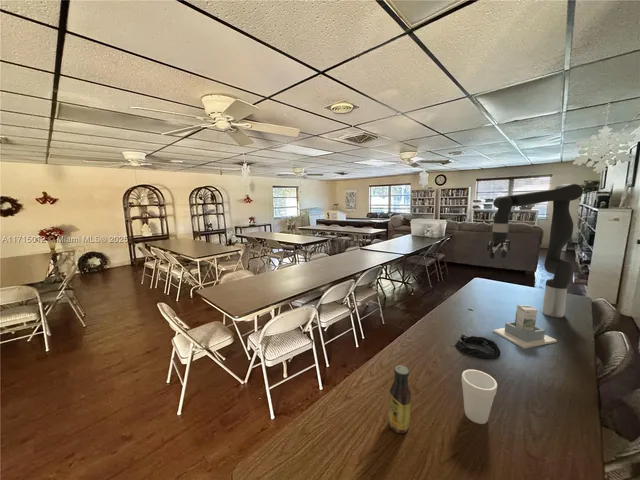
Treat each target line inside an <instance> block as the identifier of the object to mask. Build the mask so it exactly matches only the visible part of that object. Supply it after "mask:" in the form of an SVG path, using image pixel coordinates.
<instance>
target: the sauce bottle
mask: <svg viewBox="0 0 640 480" xmlns="http://www.w3.org/2000/svg"><path fill="white" fill-rule="evenodd" d="M393 372H394V379H393V383H392V384H391V387H390V388H389V396H388V397H389V399H388V425H389V428H391V429H392V430H393V431H394V432H395V433H398V434H404V433H406V432H407V431H409V428H410V420H411V406H412V405H411V403H412V398H411V397H412V391H411V390H412V389H411V387H410V385H409V384H408V383H409V381H408V380H409V375H410V371H409V369H408V367H406V366H405V365H401V364H400V365H396V366H395V367H394V371H393Z"/></svg>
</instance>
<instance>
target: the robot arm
mask: <svg viewBox="0 0 640 480" xmlns="http://www.w3.org/2000/svg"><path fill="white" fill-rule="evenodd" d="M583 193H584V189H583V187H582V186H581V185H580V184H577V183H564V184H563V183H562V184H558V185H557V186H556V187H555V188H554V189H547V190H538V191H537V190H536V191H528V192H527V191H526V192H523V193H517V194H513V195H510V194H509V195H502V196H498V197H496V198H495V199H494V200H493V201H492V202H493V203H492V204H493V206H494V208H496V209H497V211H496V213H495V214H494V215H493V225H492V231H491V232H492V233H491V239H492V241H491V240H490V241H488V242H487V247H486V251H487V252H489V259H492V260H494V259H495V252H496V251H497V250H498V249H500V250H501V258H503V259H505V258H506V257H507V252H508V251H510V250H511V240H508V236H509V217H510V214H511V211H512V208H513V207H524V206H530V205H535V204H536V205H537V204H541V203H549V202H552V215H551V217H552V218H551V224H550V231H549V241H548V247H547V250H546V251H547V252H546V255H545V260H544V264H543V265H544V271H546V272H547V273H549V274H553V278H550V279H547V280H546V281H545V286H544V287H545V288H544V294H543V295H544V296H543V302H542V303H543V304H542V311H541V312H542V314H544V315H545V316H548V317H552V318H559V319H560V318H564V316H565V314H566V304H567V298H566V297H567V292H568V291H567V290H568V286H569V284H570V283H571V280H572V279H571V278H572V274H573V265H572V263H571V262H570V261H569V260H565V259H562V258H561V254H562V251H563V249H564V248H565V246H566V245H567V244H568V243H569V242H570V241H571V239H572V238H573V232H574V221H573V218H572V216H571V212H570V205H571V204H570V202H571V201H576V200H578V199H580V198H581V197H582V196H583Z"/></svg>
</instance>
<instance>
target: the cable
mask: <svg viewBox="0 0 640 480" xmlns="http://www.w3.org/2000/svg"><path fill="white" fill-rule="evenodd" d="M467 343H469V344H474V345H478V346H485V347H489V348H490V349H492V351H493V352H486V351H483V350H481V349H479V348H471V347H469V346H468V345H467ZM455 345H456V347H457V348H458V350H462V352H464V353H468V354H469V355H471V356H473V357H475V358H479V359H481V358H482V359H497V358H498V359H499V357H500V356H501V354H502V352H501V350H500V348H499V347H498V344H497V343H496V342H495V341H494V340H492V339H488V338H486V337H484V336H483V337H482V336H473V335H471V336H466V335H465V334H461V336H460V338H459V339H458V340H457V341H456V343H455Z"/></svg>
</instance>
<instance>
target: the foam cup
mask: <svg viewBox="0 0 640 480" xmlns="http://www.w3.org/2000/svg"><path fill="white" fill-rule="evenodd" d="M461 383H462V385H461V386H462V394H463V395H462V396H463V407H464V414H465V416H466V418H467V419H468V420H470V421H472V422H474V423H476V424H480V425H485V424H487V422H488V420H489V417H490V414H491V410H492V406H493V402H494V400H495V396H496V395H497V390H498V383H497V381H496V379H495V378H493V377H492V376H491V375H490V374H488V373H485V372H484V371H481V370H478V369H466V370H464V371H462V374H461Z"/></svg>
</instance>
